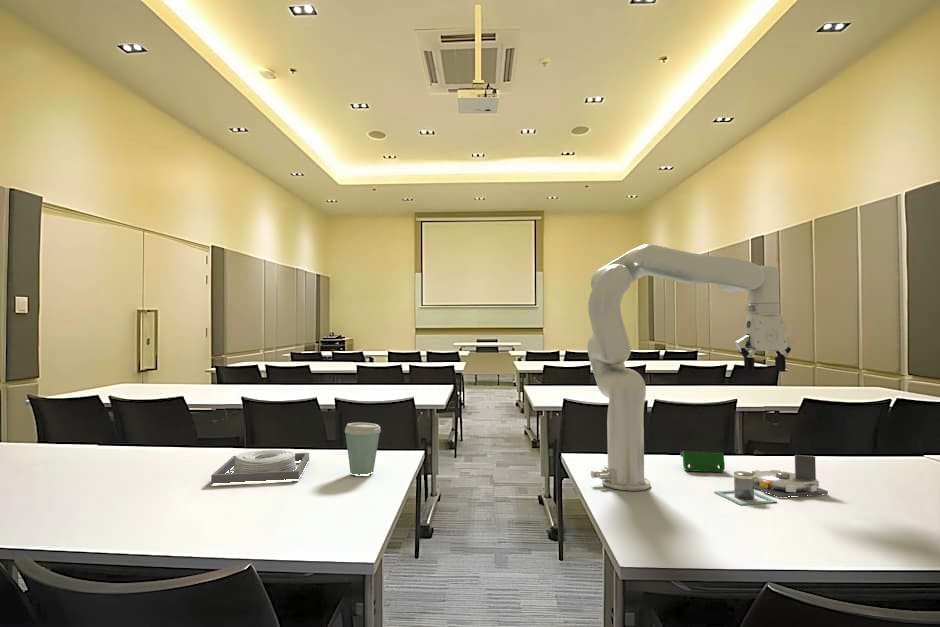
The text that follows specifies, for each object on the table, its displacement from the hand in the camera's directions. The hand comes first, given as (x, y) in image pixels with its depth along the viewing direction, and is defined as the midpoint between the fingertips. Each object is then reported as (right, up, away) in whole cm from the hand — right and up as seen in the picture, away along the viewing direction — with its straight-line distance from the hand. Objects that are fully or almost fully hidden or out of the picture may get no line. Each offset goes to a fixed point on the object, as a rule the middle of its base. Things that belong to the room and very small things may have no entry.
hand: (765, 371), depth 150 cm
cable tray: (-144, -31, +10) cm, 147 cm away
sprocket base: (0, -30, -8) cm, 31 cm away
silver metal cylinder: (-14, -30, -15) cm, 36 cm away
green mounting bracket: (-13, -31, +11) cm, 35 cm away
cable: (-143, -32, +10) cm, 147 cm away
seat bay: (-14, -30, -15) cm, 36 cm away
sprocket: (0, -29, -8) cm, 30 cm away
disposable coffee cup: (-114, -31, +8) cm, 118 cm away
